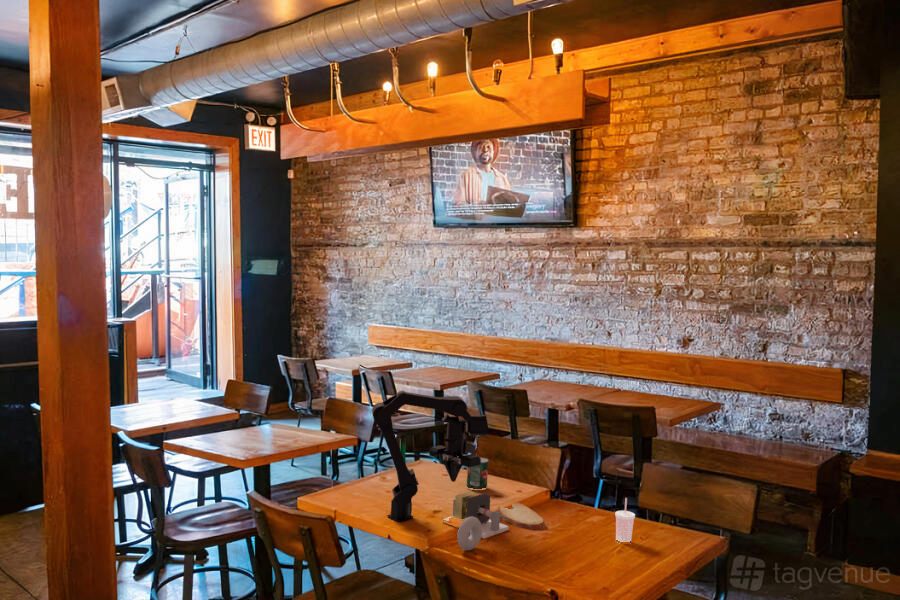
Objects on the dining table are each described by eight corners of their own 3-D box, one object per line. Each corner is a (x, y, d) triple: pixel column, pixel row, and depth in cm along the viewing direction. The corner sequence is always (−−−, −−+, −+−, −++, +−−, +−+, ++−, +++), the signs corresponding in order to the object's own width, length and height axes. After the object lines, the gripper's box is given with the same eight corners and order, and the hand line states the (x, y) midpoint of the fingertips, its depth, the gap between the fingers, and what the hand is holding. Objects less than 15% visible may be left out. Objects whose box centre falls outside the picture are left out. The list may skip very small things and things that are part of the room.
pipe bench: (484, 538, 236) (485, 517, 236) (442, 522, 248) (443, 502, 248) (508, 529, 245) (509, 509, 244) (466, 514, 257) (467, 495, 257)
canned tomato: (464, 485, 291) (465, 456, 291) (484, 484, 293) (485, 456, 292) (468, 491, 283) (470, 462, 283) (489, 491, 285) (490, 462, 284)
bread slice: (545, 532, 245) (545, 520, 245) (490, 525, 249) (490, 514, 249) (550, 514, 263) (550, 503, 263) (498, 508, 267) (499, 498, 267)
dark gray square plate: (472, 526, 242) (473, 500, 241) (466, 524, 244) (467, 498, 243) (489, 520, 248) (490, 495, 248) (483, 518, 250) (484, 493, 249)
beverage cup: (619, 545, 236) (622, 501, 235) (610, 538, 241) (612, 495, 241) (637, 544, 237) (639, 500, 236) (627, 537, 243) (630, 494, 242)
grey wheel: (474, 543, 231) (476, 511, 231) (483, 547, 229) (485, 514, 229) (453, 552, 224) (455, 519, 223) (463, 556, 221) (464, 522, 221)
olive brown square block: (461, 519, 246) (462, 497, 246) (454, 517, 248) (455, 495, 248) (475, 514, 251) (477, 493, 251) (469, 512, 253) (470, 491, 253)
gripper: (492, 437, 252) (490, 483, 253) (451, 426, 265) (449, 470, 265) (470, 442, 244) (468, 490, 245) (429, 431, 256) (427, 476, 257)
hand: (453, 481), depth 253 cm, fingers closed
